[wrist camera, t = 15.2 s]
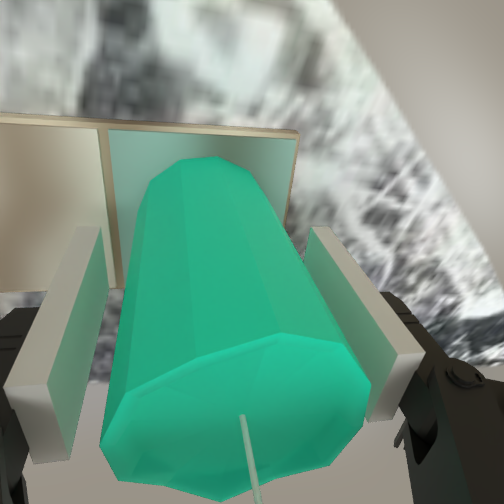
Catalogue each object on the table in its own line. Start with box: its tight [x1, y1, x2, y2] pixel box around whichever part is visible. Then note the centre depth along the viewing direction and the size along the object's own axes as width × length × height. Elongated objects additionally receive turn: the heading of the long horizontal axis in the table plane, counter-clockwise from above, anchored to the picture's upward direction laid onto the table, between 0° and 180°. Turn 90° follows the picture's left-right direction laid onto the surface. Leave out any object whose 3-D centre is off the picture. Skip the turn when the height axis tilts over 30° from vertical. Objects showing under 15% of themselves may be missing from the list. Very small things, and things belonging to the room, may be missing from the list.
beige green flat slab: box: [0, 113, 300, 293], centre depth 16 cm, size 16×8×1 cm, turn 84°
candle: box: [99, 156, 371, 504], centre depth 12 cm, size 6×6×12 cm
